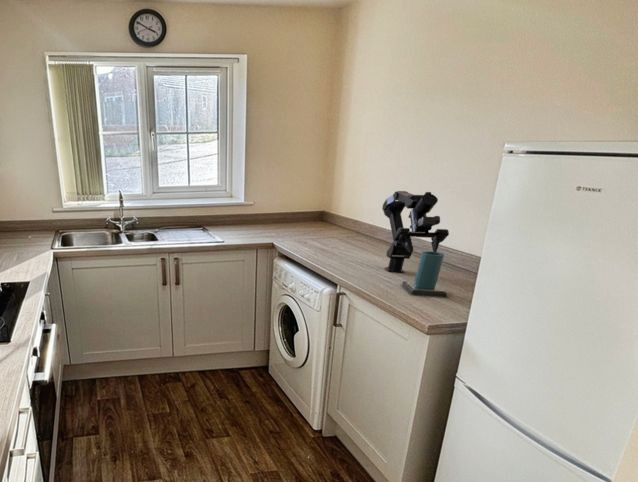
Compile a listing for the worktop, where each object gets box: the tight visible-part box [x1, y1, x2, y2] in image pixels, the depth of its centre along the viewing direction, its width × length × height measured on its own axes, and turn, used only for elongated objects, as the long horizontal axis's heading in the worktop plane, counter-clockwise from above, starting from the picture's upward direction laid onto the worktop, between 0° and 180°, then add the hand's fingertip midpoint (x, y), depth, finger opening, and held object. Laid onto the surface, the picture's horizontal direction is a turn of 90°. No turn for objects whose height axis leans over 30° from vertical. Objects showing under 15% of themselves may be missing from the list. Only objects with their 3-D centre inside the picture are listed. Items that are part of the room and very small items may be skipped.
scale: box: [401, 280, 448, 298], centre depth 181 cm, size 14×12×2 cm
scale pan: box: [406, 280, 447, 293], centre depth 180 cm, size 11×11×1 cm
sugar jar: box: [413, 250, 445, 288], centre depth 178 cm, size 7×7×13 cm
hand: (422, 252), depth 184 cm, fingers open, 9 cm apart
